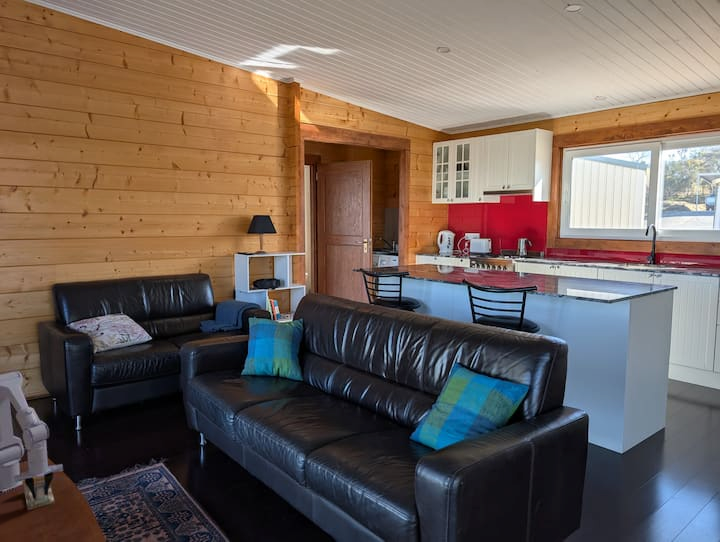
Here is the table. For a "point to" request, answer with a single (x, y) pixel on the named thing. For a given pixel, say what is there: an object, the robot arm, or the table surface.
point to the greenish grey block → (40, 495)
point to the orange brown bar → (35, 479)
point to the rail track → (30, 497)
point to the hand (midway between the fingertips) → (40, 495)
